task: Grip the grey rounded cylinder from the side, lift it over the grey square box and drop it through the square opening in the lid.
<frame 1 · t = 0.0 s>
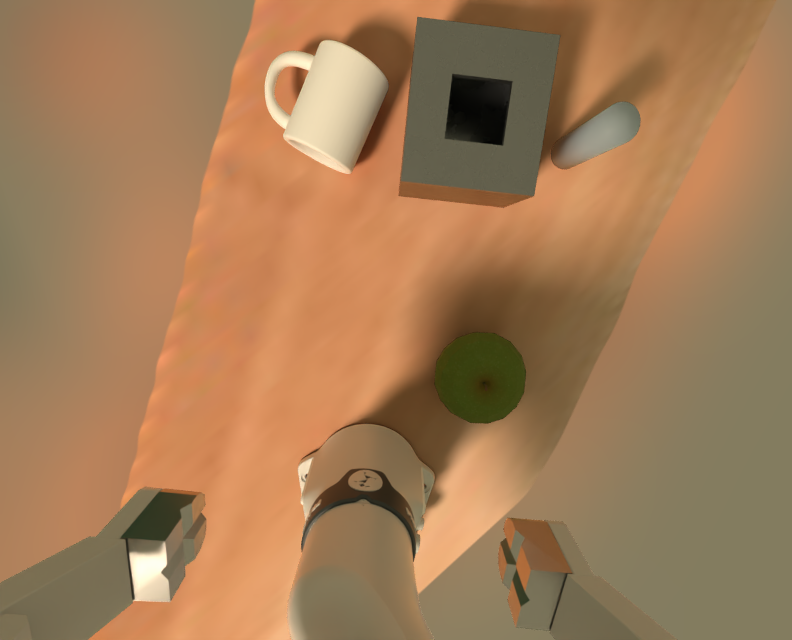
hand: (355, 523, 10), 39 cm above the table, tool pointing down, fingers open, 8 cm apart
mug: (325, 117, 44), on the table
apple: (468, 361, 50), on the table
grey square box: (458, 140, 45), on the table
grey rounded cylinder: (565, 153, 45), on the table
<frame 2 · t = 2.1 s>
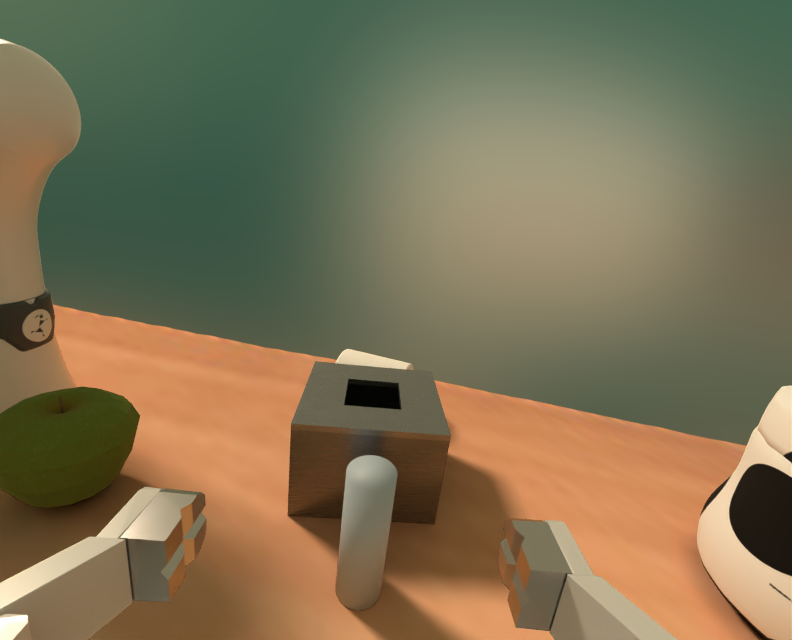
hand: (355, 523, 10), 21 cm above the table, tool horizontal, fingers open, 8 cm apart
mug: (374, 402, 57), on the table
apple: (75, 492, 35), on the table
grey square box: (364, 472, 42), on the table
grey rounded cylinder: (358, 586, 30), on the table
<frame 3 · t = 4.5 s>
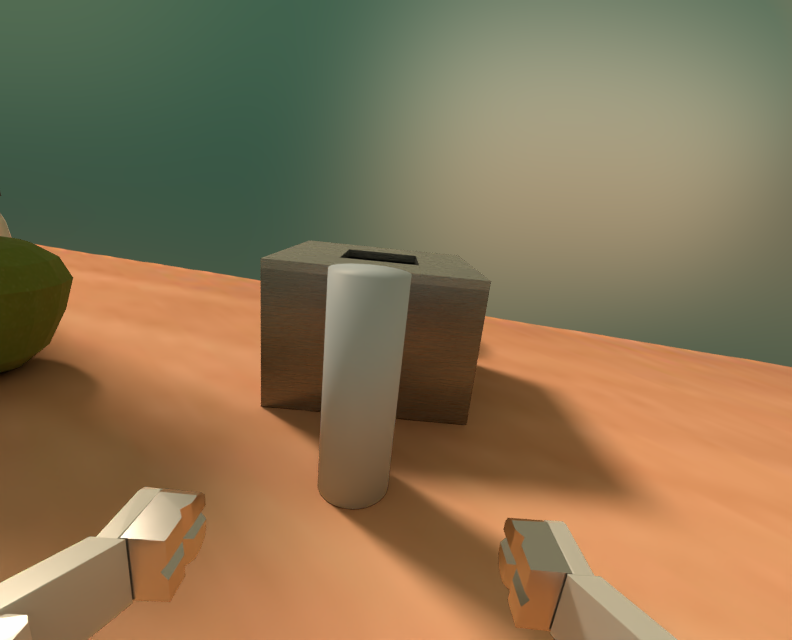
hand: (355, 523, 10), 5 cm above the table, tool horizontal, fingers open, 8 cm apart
grey square box: (370, 374, 32), on the table
grey rounded cylinder: (353, 482, 19), on the table
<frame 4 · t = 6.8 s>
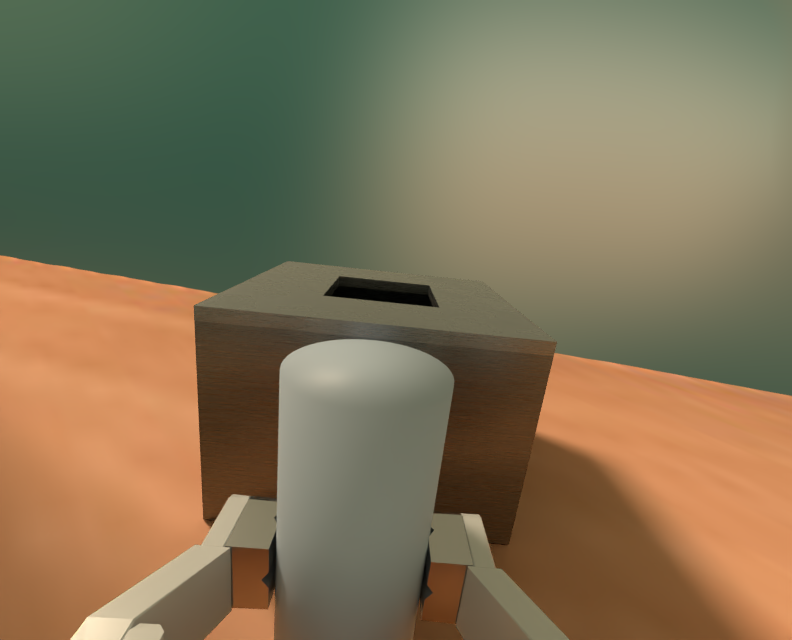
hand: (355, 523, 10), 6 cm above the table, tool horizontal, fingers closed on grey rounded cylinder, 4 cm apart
grey square box: (367, 446, 23), on the table
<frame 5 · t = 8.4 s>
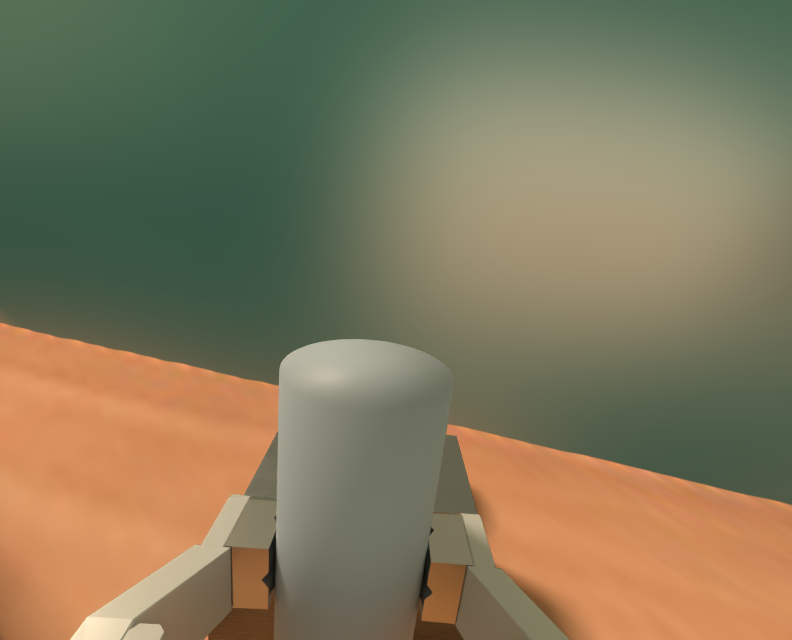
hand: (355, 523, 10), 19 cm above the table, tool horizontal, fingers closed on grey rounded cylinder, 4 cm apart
grey square box: (353, 600, 27), on the table
when the fingers open (15 cm above the table, at t = 10.4 s): grey rounded cylinder drops 8 cm, resting on grey square box.
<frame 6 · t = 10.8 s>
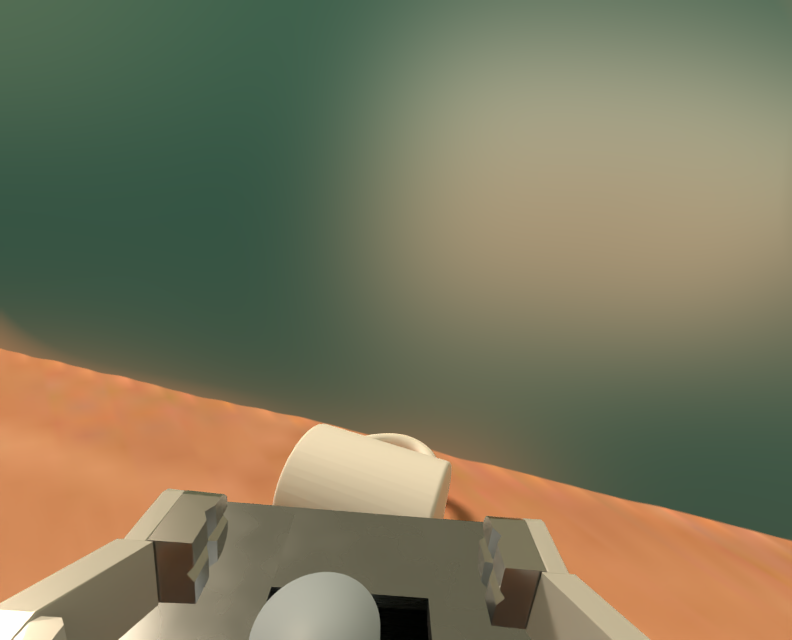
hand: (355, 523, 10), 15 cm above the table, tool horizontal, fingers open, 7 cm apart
mug: (373, 527, 29), on the table
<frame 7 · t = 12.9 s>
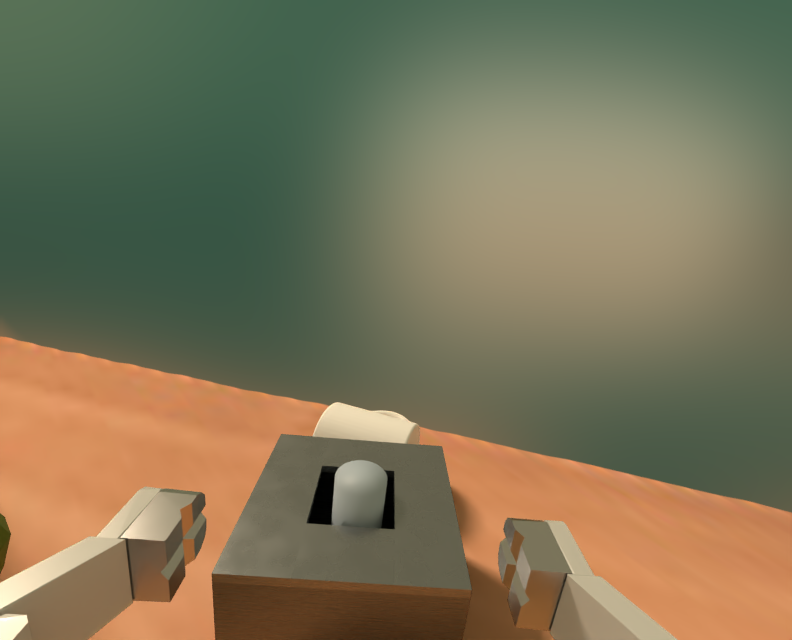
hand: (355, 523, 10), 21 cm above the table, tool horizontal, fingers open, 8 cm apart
mug: (371, 469, 45), on the table
grey square box: (346, 600, 29), on the table
grey rounded cylinder: (349, 597, 29), point 1 cm above the table, touching grey square box
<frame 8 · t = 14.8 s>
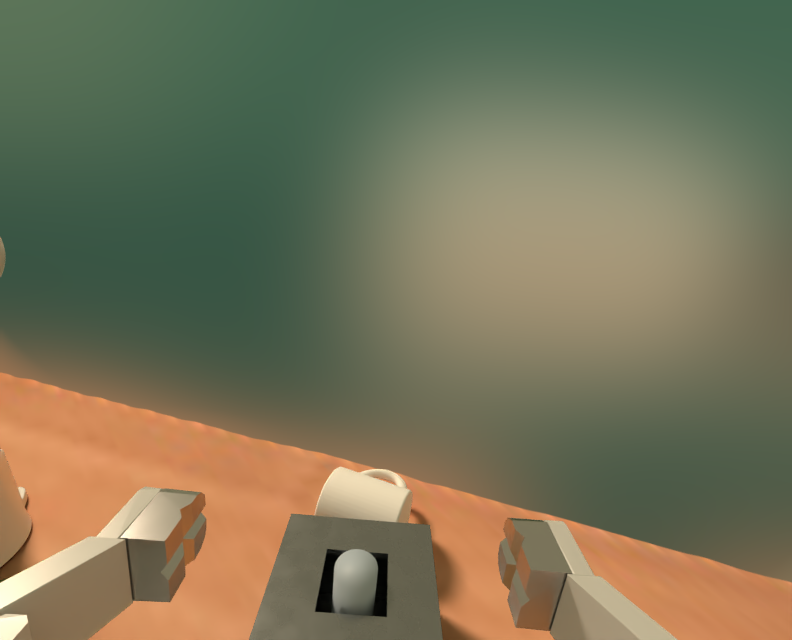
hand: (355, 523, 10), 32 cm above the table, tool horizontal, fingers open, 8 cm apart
mug: (368, 526, 50), on the table
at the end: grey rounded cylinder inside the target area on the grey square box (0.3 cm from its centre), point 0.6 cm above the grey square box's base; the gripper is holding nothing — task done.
